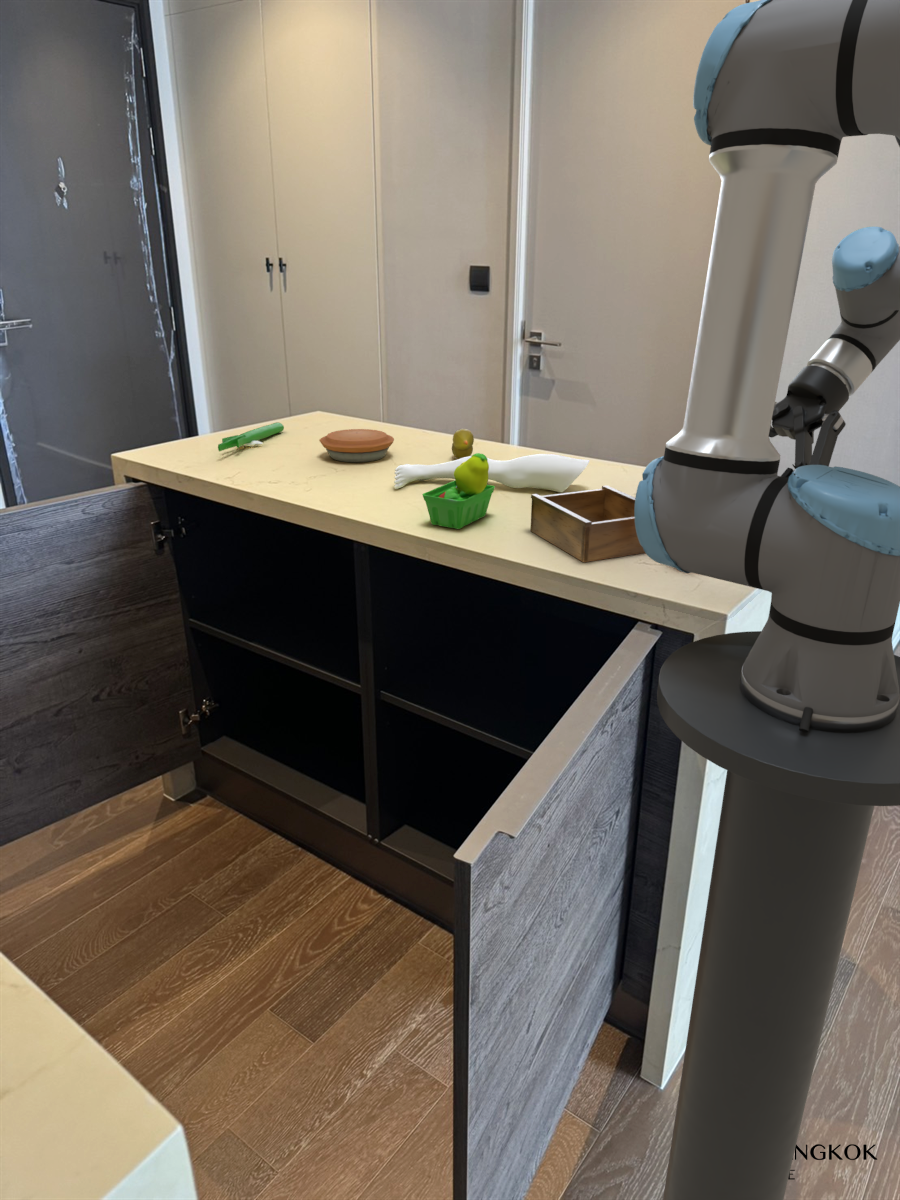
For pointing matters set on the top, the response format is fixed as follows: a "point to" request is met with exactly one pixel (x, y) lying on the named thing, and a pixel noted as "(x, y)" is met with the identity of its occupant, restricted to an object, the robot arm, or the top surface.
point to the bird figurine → (462, 443)
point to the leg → (505, 471)
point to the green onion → (250, 436)
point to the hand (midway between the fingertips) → (727, 499)
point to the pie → (357, 445)
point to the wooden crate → (587, 523)
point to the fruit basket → (461, 495)
